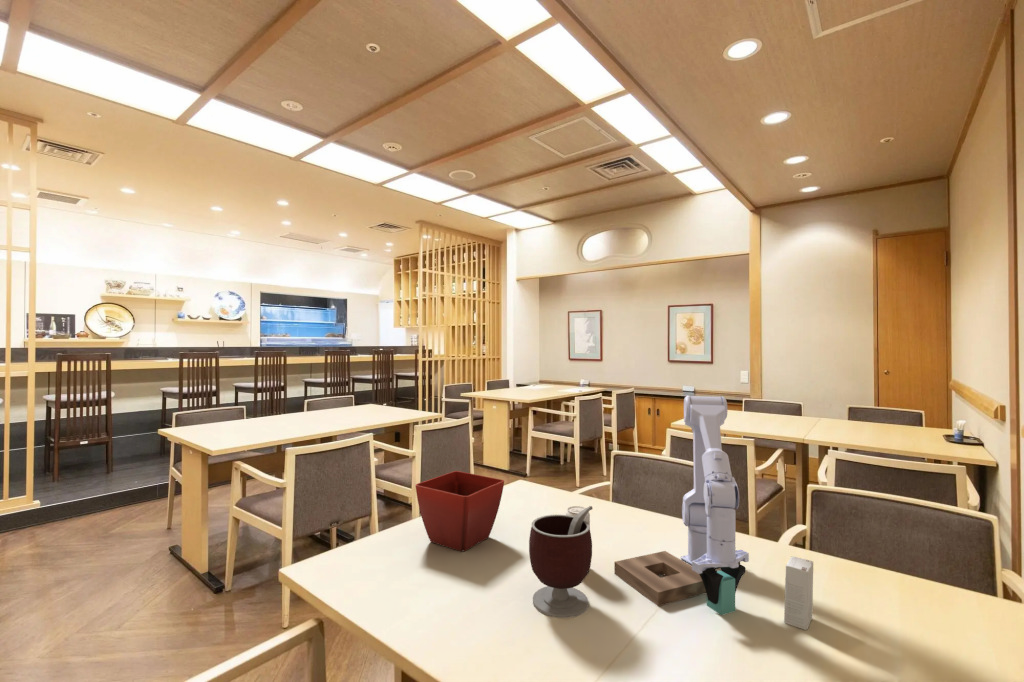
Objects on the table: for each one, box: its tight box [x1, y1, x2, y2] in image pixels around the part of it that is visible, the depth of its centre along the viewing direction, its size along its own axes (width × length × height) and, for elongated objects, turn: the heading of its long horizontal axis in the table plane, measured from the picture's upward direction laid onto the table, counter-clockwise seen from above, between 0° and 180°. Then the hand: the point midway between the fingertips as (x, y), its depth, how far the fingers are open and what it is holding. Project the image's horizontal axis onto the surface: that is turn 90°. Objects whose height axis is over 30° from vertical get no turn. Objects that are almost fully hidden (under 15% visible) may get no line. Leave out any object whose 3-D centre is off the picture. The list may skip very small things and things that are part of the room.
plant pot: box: [415, 470, 505, 552], centre depth 140 cm, size 19×19×17 cm
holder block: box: [613, 550, 706, 607], centre depth 115 cm, size 16×16×3 cm
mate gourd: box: [528, 505, 593, 619], centre depth 106 cm, size 16×14×20 cm
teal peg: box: [706, 570, 736, 616], centre depth 104 cm, size 4×4×7 cm
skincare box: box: [783, 556, 814, 631], centre depth 99 cm, size 6×4×12 cm
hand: (720, 599), depth 104 cm, fingers open, 4 cm apart
